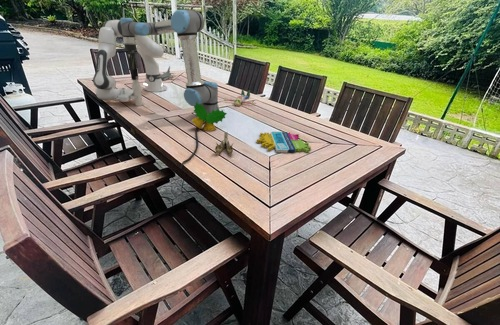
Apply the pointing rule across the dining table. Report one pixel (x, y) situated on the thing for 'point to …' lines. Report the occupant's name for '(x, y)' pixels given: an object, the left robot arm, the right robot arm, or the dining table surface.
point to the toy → (241, 99)
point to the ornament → (207, 117)
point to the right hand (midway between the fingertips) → (135, 78)
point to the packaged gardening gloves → (283, 142)
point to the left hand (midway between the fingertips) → (138, 96)
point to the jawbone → (224, 145)
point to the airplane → (166, 74)
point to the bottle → (137, 92)
